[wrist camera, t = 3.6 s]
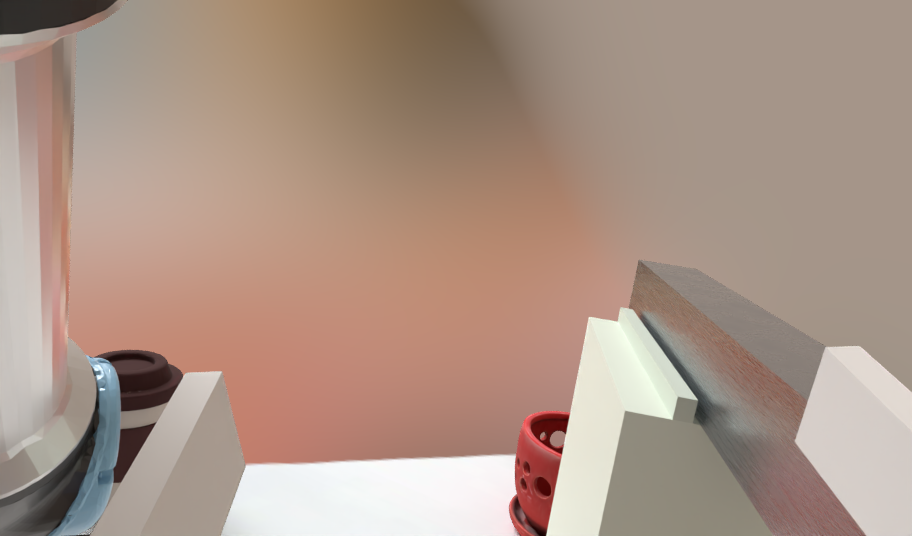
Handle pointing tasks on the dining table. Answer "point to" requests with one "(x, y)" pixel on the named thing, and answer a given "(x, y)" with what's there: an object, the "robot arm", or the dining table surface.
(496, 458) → the dining table surface
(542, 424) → the plant pot
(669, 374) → the stand
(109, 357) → the coffee cup
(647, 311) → the bar
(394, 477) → the dining table surface
